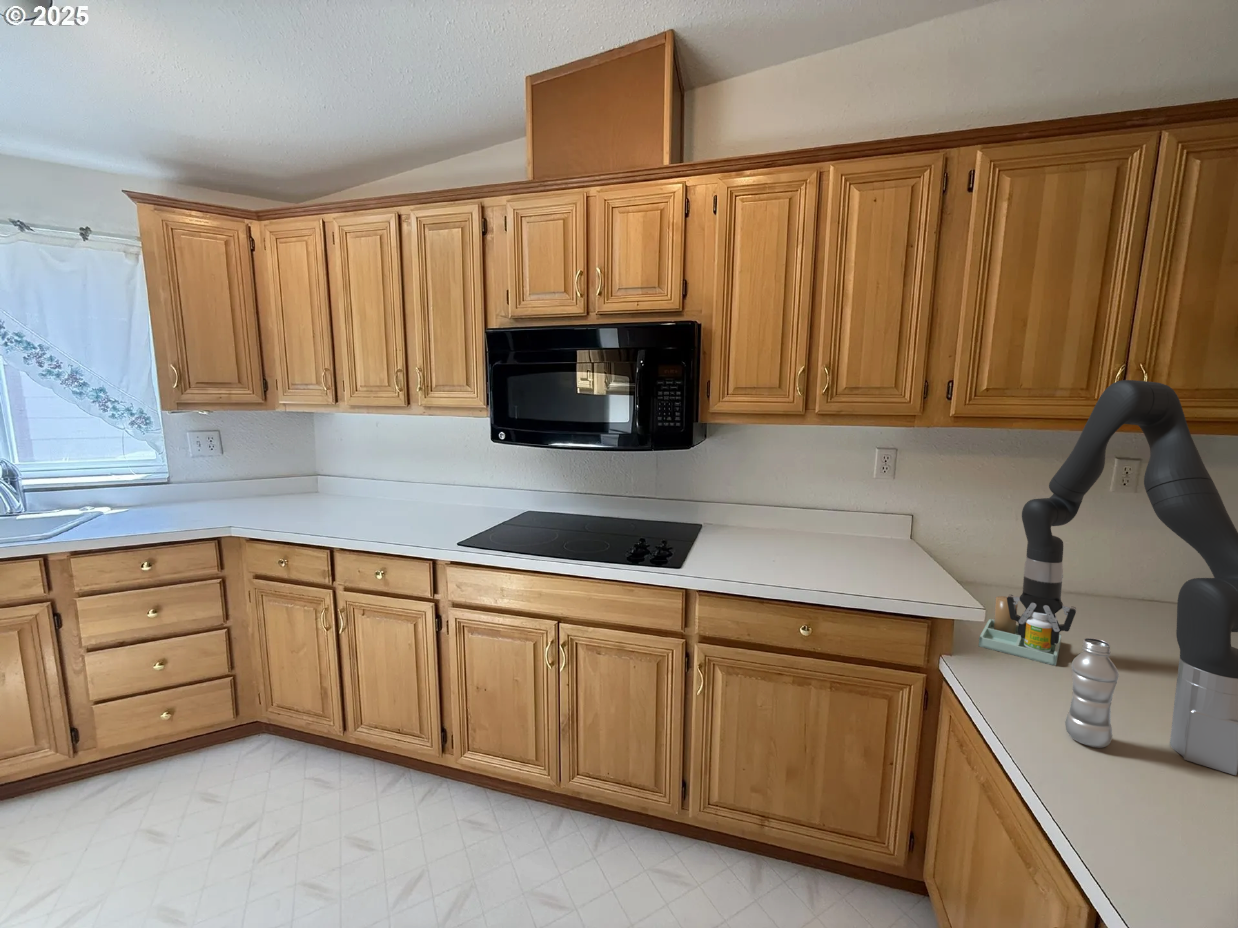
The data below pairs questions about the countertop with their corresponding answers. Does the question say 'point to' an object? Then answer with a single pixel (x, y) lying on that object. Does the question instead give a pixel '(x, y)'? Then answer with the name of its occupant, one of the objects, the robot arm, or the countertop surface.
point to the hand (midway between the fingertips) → (1037, 640)
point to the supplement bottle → (1038, 632)
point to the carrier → (1015, 645)
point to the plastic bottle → (1092, 695)
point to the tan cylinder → (1003, 616)
